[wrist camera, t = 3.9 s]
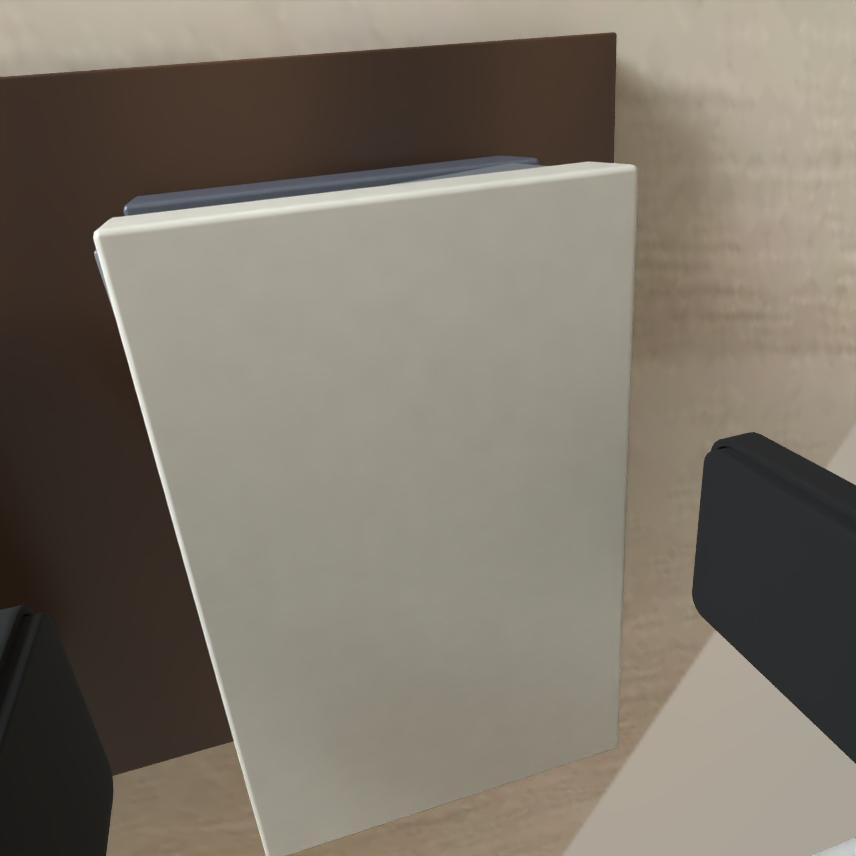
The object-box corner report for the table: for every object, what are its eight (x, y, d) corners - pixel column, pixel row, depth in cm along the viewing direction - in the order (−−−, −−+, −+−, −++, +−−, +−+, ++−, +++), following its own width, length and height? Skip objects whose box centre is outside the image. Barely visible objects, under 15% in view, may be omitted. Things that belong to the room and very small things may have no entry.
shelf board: (588, 39, 15) (617, 32, 14) (584, 610, 21) (604, 635, 20) (-1040, 160, 9) (-1200, 164, 8) (-395, 880, 15) (-439, 935, 14)
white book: (590, 160, 11) (641, 164, 9) (585, 698, 15) (619, 749, 14) (106, 217, 9) (89, 230, 8) (262, 798, 14) (267, 865, 12)
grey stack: (505, 154, 14) (595, 159, 11) (523, 605, 18) (589, 703, 15) (116, 198, 12) (83, 220, 9) (241, 680, 17) (249, 808, 14)
